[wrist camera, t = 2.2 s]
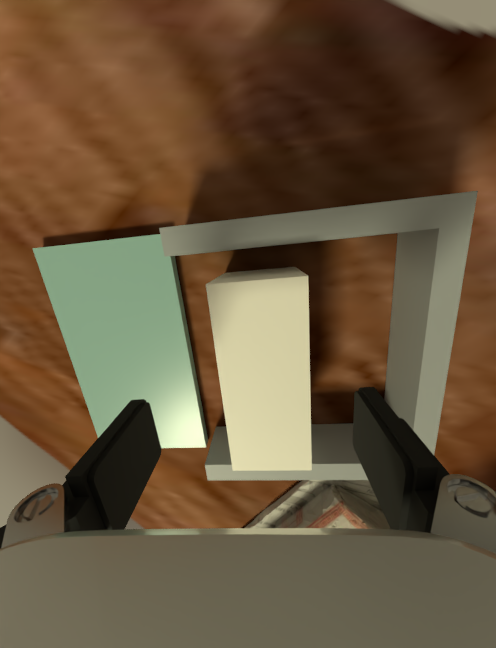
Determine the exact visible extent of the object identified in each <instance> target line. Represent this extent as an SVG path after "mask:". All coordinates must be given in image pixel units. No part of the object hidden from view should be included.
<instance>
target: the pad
mask: <svg viewBox="0 0 496 648" xmlns="http://www.w3.org/2000/svg"><path fill="white" fill-rule="evenodd" d="M33 251H34V254H35V257H36V260H37V263H38V266H39V268H40V271H41V274H42V277H43V280H44V283H45V286H46V289H47V292H48V294H49V297H50V300H51V303H52V306H53V309H54V312H55V315H56V317H57V320H58V323H59V326H60V329H61V332H62V335H63V338H64V341H65V343H66V346H67V349H68V352H69V355H70V358H71V361H72V364H73V366H74V369H75V372H76V375H77V378H78V381H79V384H80V387H81V390H82V392H83V395H84V398H85V401H86V404H87V407H88V410H89V413H90V415H91V418H92V421H93V424H94V427H95V430H96V433H97V436H98V438H99V437H100V436H101V434H102V433H103V432H104V431H105V430H106V429H107V427H108V426H109V425H110V424H111V423H112V422H113V420H114V419H115V418H116V417H117V416H118V415H119V413H120V412H121V411H122V410H123V409H124V408H125V406H126V405H127V404H128V403H129V402H130V401H131V400H138V399H145V400H146V402H149V403H150V406H151V410H152V414H153V418H154V422H155V426H156V430H157V434H158V437H159V441H160V445H161V448H193V447H206V446H207V443H208V437H207V431H206V426H205V420H204V415H203V409H202V404H201V398H200V393H199V387H198V382H197V376H196V371H195V365H194V360H193V354H192V349H191V343H190V338H189V332H188V327H187V321H186V315H185V310H184V304H183V299H182V293H181V288H180V282H179V277H178V271H177V266H176V260H175V256H167V257H165V256H164V251H163V246H162V240H161V235H160V234H156V235H147V236H138V237H130V238H121V239H112V240H103V241H94V242H86V243H77V244H68V245H59V246H51V247H42V248H33Z"/></svg>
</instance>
